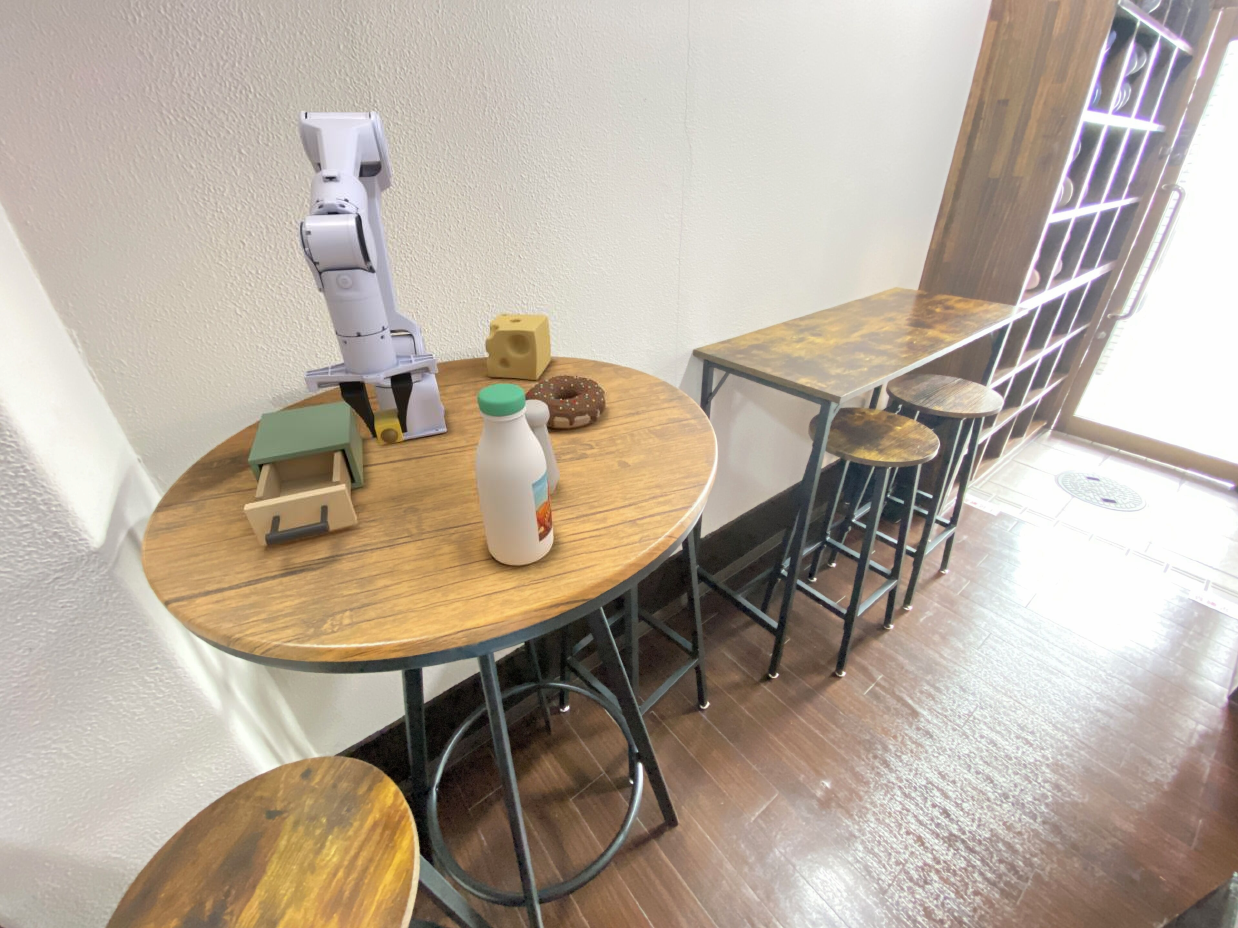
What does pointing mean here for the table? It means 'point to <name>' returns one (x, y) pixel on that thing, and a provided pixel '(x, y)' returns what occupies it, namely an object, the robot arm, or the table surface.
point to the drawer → (302, 498)
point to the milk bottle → (512, 479)
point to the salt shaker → (543, 437)
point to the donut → (569, 400)
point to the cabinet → (309, 437)
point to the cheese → (518, 346)
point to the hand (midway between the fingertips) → (390, 431)
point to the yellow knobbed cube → (388, 426)
